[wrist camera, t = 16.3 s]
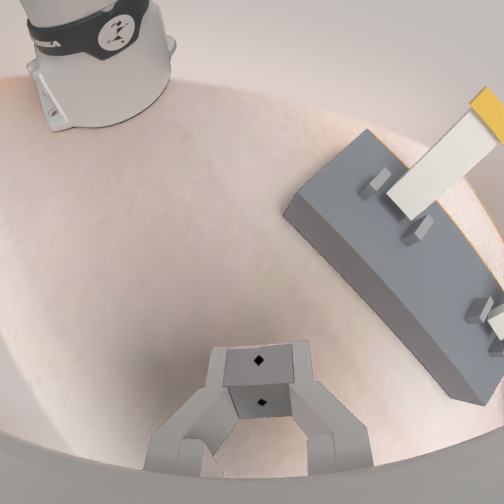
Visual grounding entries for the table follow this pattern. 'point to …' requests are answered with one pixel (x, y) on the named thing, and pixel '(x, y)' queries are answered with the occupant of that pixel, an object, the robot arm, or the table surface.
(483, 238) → the table surface
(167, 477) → the robot arm
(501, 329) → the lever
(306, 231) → the switch box
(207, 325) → the table surface
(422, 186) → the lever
